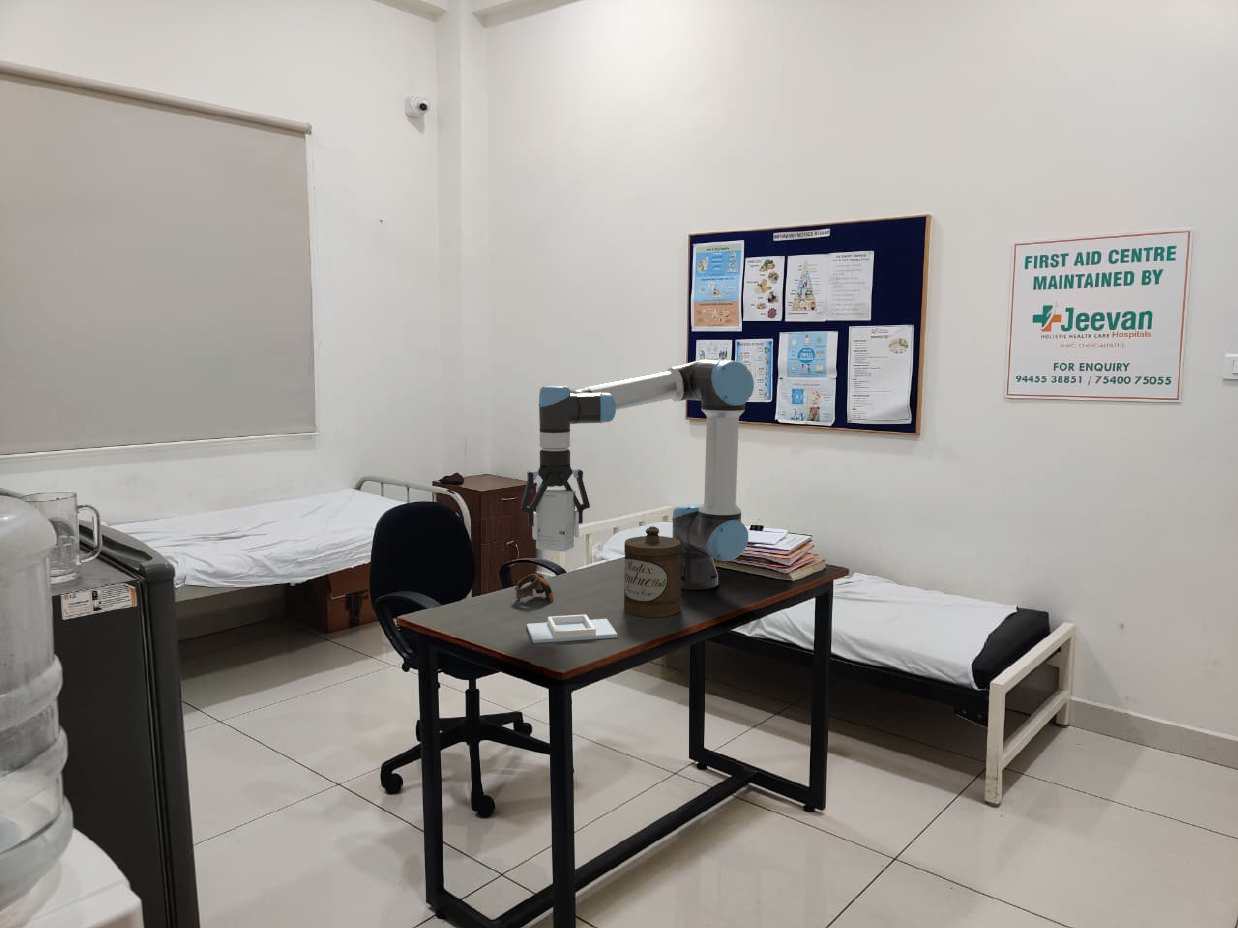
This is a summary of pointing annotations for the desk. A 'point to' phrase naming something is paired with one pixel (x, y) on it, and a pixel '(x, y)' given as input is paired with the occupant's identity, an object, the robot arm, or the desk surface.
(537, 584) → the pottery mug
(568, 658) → the desk surface
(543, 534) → the skincare box
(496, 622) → the desk surface
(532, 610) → the desk surface
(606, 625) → the white box stand
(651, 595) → the wooden container
